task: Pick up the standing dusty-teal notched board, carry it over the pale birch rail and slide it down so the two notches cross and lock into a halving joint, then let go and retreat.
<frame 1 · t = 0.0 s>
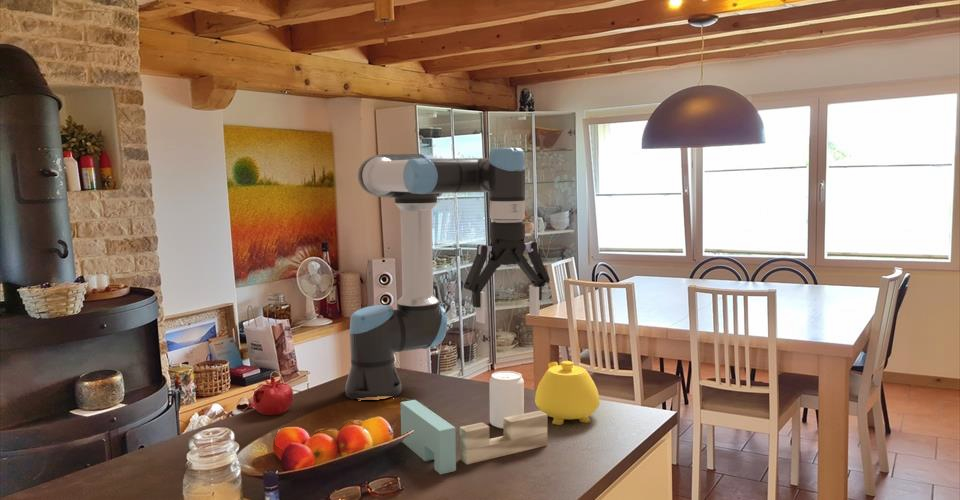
hand: (508, 318, 150), 28 cm above the kitchen island, fingers open, 13 cm apart
beverage can: (506, 425, 165), on the kitchen island
birch rail: (504, 452, 149), on the kitchen island
pomegranate: (274, 411, 176), on the kitchen island
teapot: (564, 414, 172), on the kitchen island
teal board: (427, 455, 147), on the kitchen island
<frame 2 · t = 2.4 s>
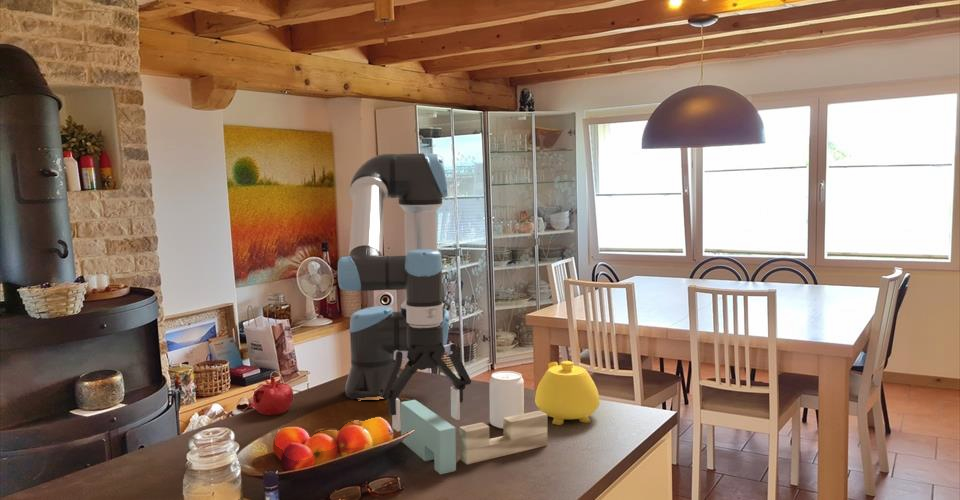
hand: (426, 423, 146), 7 cm above the kitchen island, fingers open, 13 cm apart
nothing on the kitchen island moved.
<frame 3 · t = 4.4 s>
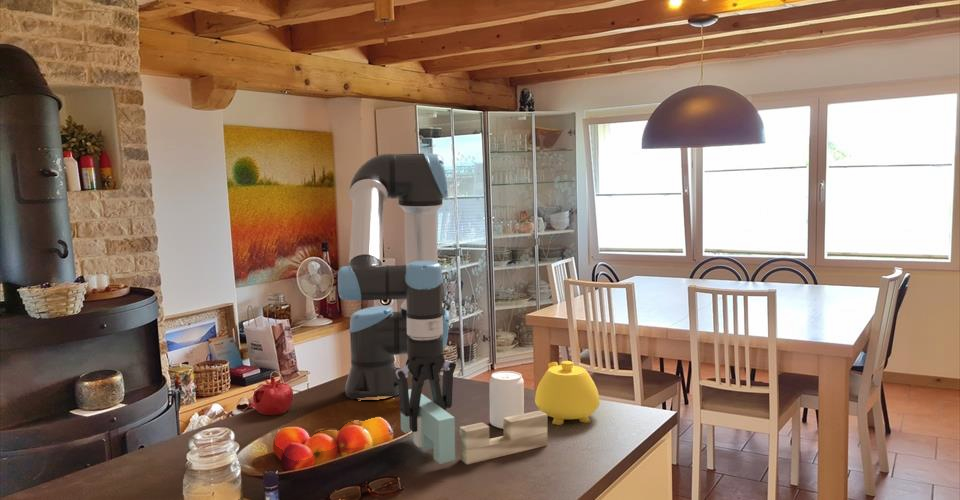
hand: (426, 442, 148), 2 cm above the kitchen island, fingers closed on teal board, 3 cm apart
teal board: (426, 444, 148), point 2 cm above the kitchen island, touching gripper
everything else where it was.
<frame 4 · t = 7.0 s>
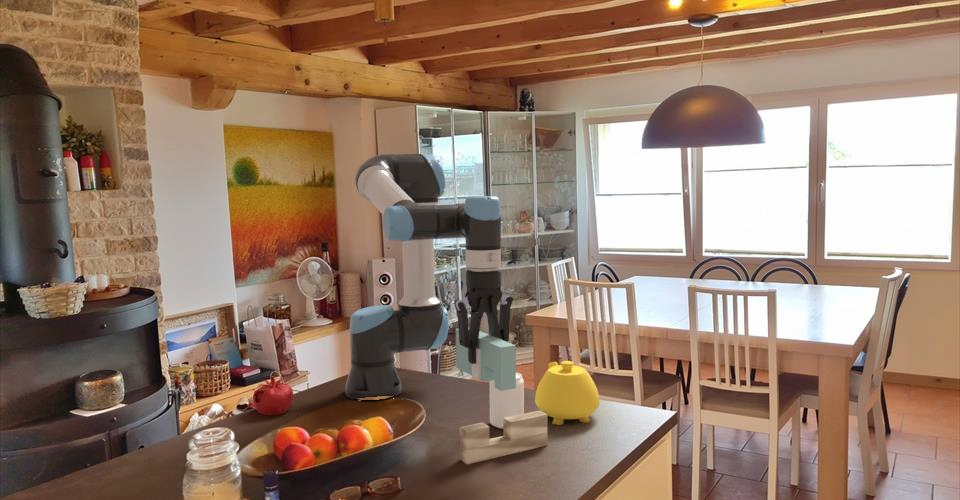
hand: (484, 376, 150), 16 cm above the kitchen island, fingers closed on teal board, 3 cm apart
teal board: (484, 377, 150), point 15 cm above the kitchen island, touching gripper
everything else where it was.
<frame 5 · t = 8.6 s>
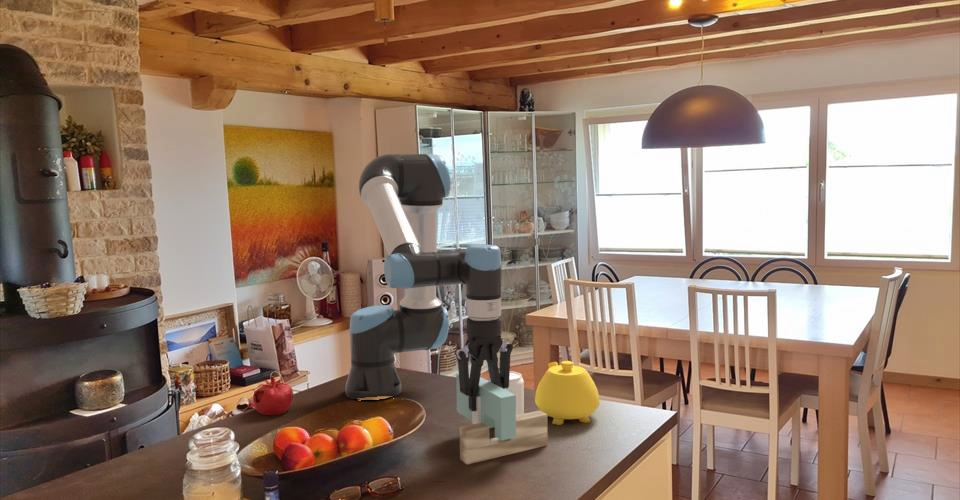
hand: (485, 422, 151), 5 cm above the kitchen island, fingers closed on teal board, 3 cm apart
teal board: (484, 423, 151), point 5 cm above the kitchen island, touching gripper
everything else where it was.
when the fingers open (1 cm above the kitchen island, at t = 9.6 s): teal board stays where it is, on the kitchen island.
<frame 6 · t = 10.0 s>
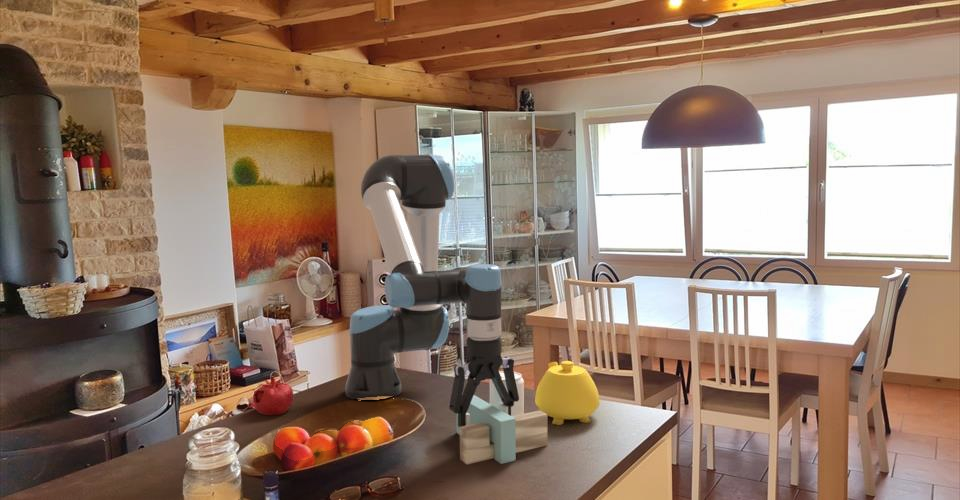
hand: (485, 437, 152), 2 cm above the kitchen island, fingers open, 9 cm apart
teal board: (484, 445, 152), on the kitchen island
everything else where it was.
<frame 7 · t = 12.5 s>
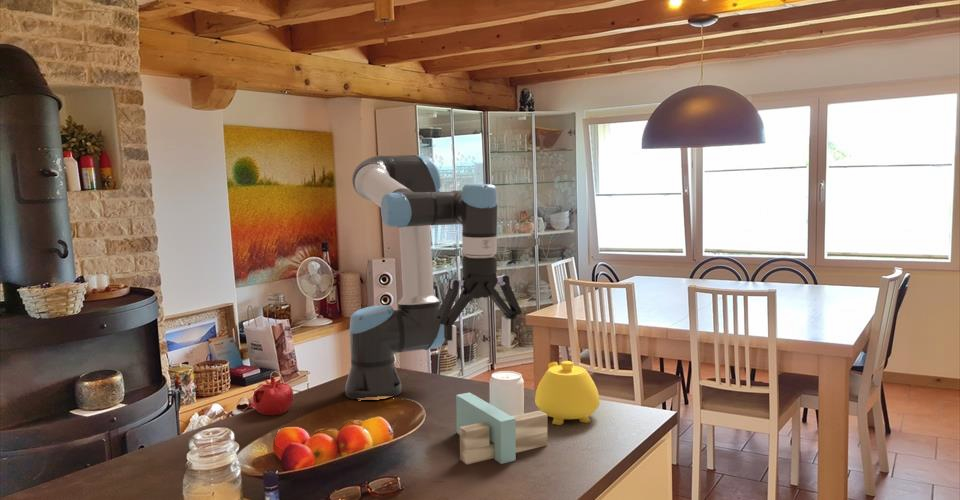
hand: (479, 350, 154), 20 cm above the kitchen island, fingers open, 13 cm apart
nothing on the kitchen island moved.
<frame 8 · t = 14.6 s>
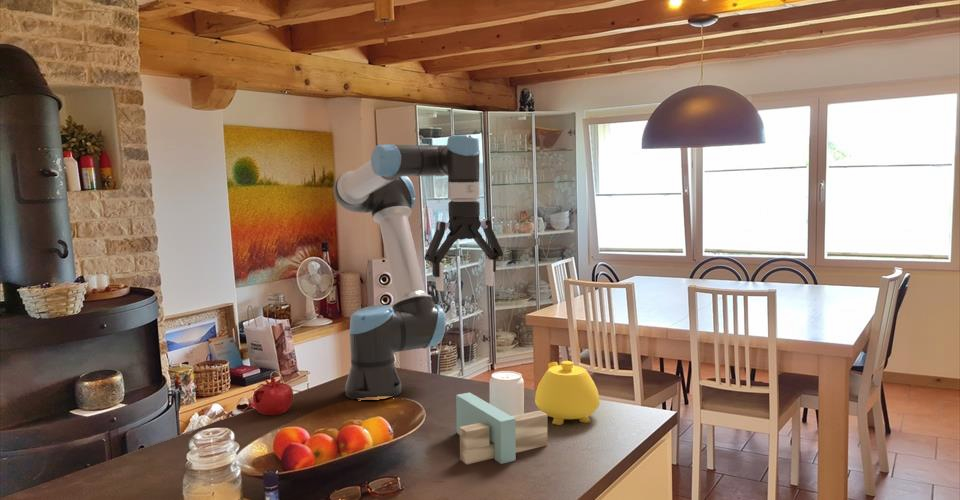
hand: (465, 288, 169), 32 cm above the kitchen island, fingers open, 13 cm apart
nothing on the kitchen island moved.
at the end: teal board 0.2 cm from the target spot on the kitchen island beside the birch rail, on the kitchen island; teal board tilted 0°; the gripper is holding nothing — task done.
